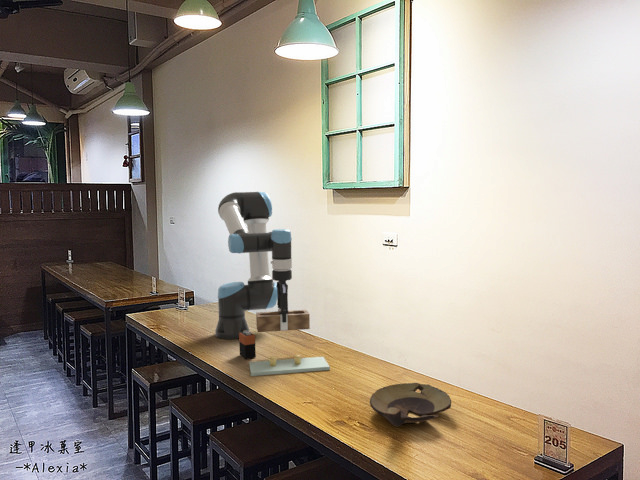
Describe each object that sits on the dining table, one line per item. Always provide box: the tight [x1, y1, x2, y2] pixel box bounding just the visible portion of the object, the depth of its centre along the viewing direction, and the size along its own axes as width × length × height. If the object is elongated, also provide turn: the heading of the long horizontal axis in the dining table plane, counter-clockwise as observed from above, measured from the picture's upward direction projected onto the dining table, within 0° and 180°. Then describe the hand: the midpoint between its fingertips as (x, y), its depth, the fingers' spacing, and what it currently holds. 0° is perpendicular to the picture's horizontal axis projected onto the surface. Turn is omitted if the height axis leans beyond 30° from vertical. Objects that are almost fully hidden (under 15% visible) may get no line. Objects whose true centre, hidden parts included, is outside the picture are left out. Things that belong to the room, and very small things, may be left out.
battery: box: [238, 330, 257, 360], centre depth 208 cm, size 4×7×10 cm, turn 29°
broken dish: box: [369, 382, 452, 427], centre depth 150 cm, size 22×30×8 cm
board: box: [248, 354, 331, 377], centre depth 194 cm, size 28×12×4 cm, turn 101°
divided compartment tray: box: [255, 309, 311, 333], centre depth 208 cm, size 20×7×6 cm, turn 101°
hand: (282, 327), depth 208 cm, fingers closed on divided compartment tray, 7 cm apart
